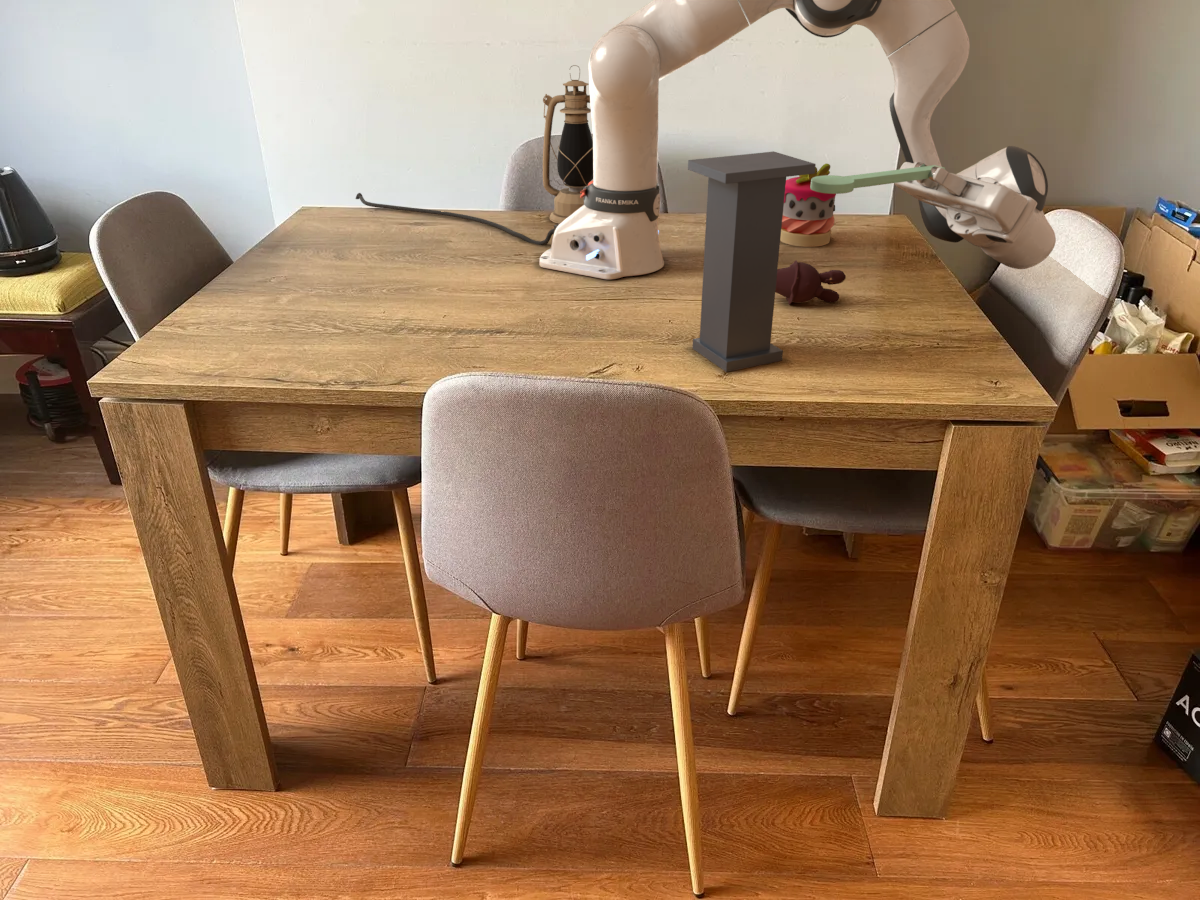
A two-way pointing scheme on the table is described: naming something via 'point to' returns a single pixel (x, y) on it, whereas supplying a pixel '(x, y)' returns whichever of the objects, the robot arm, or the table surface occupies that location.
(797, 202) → the cake
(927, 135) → the robot arm
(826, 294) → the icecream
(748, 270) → the stand
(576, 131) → the lantern
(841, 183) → the spoon
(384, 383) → the table surface
